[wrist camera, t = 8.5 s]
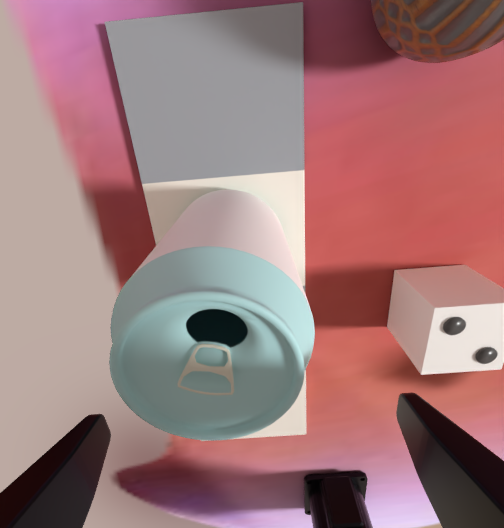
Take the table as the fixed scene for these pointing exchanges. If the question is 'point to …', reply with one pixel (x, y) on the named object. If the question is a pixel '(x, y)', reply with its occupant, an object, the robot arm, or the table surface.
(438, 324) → the die
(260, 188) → the board
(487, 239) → the table surface
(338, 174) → the table surface
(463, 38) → the vase
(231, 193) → the can
